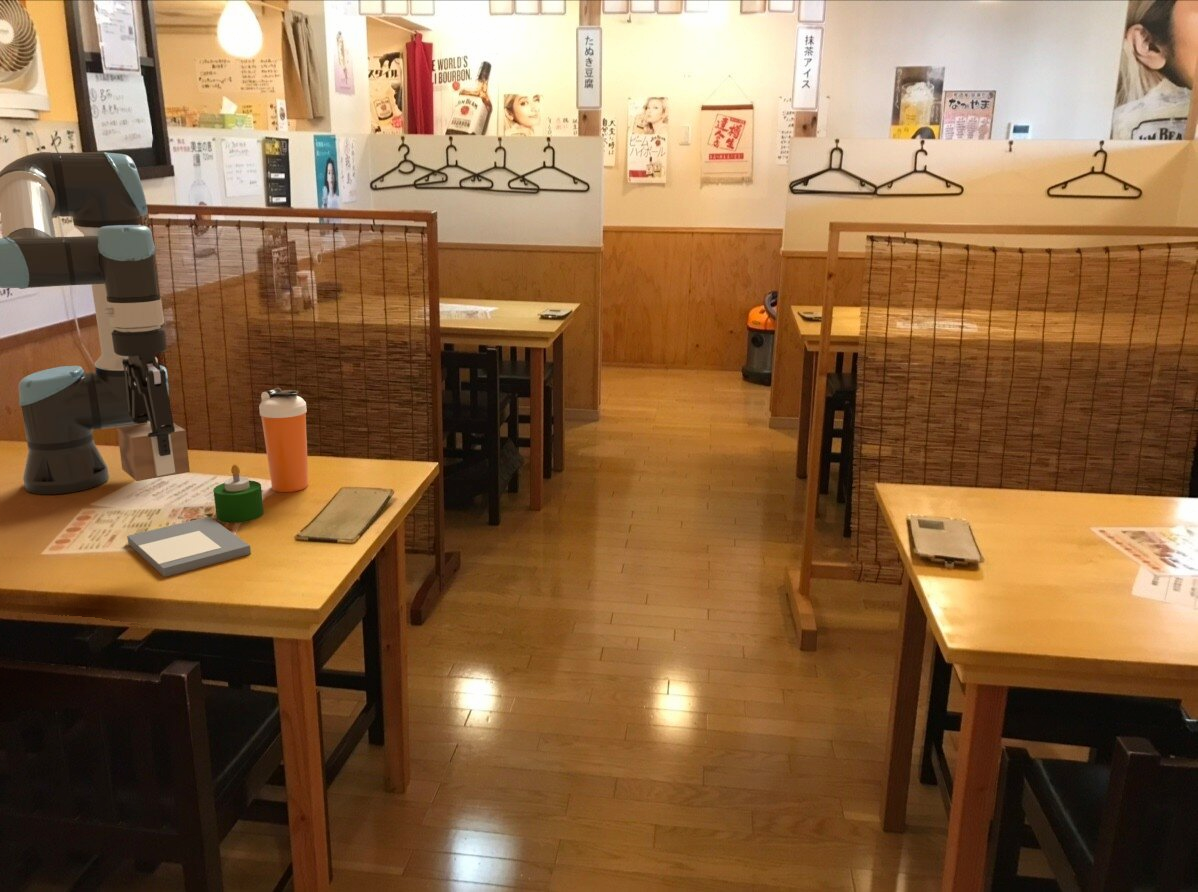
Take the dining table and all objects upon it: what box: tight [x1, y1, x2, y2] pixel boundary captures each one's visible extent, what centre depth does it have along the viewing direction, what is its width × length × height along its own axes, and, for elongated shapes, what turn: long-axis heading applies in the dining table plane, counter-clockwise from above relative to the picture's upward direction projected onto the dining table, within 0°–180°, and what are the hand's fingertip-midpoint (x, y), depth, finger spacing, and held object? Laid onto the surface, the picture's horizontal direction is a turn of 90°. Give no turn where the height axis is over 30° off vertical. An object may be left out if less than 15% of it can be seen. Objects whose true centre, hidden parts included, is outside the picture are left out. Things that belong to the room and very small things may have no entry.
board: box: [127, 516, 252, 578], centre depth 159 cm, size 18×14×2 cm
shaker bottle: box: [258, 387, 309, 493], centre depth 187 cm, size 9×9×20 cm
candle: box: [213, 463, 265, 524], centre depth 173 cm, size 8×8×10 cm
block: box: [116, 422, 191, 482], centre depth 150 cm, size 8×8×7 cm
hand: (157, 467), depth 151 cm, fingers closed on block, 8 cm apart
